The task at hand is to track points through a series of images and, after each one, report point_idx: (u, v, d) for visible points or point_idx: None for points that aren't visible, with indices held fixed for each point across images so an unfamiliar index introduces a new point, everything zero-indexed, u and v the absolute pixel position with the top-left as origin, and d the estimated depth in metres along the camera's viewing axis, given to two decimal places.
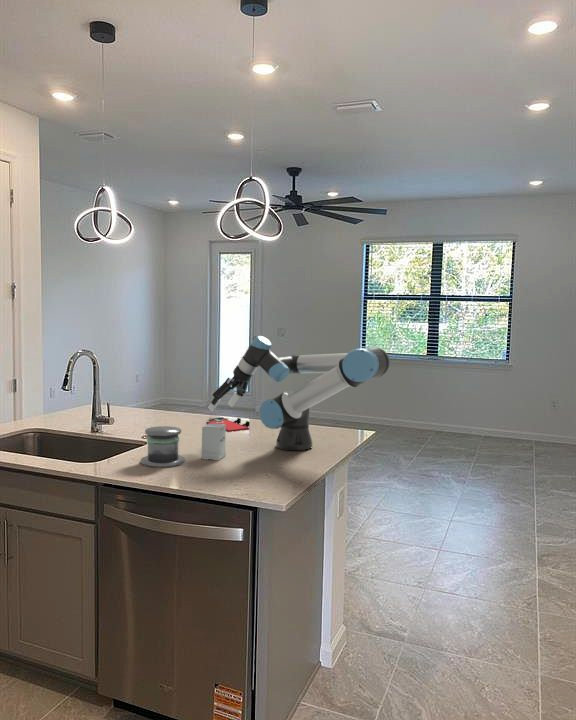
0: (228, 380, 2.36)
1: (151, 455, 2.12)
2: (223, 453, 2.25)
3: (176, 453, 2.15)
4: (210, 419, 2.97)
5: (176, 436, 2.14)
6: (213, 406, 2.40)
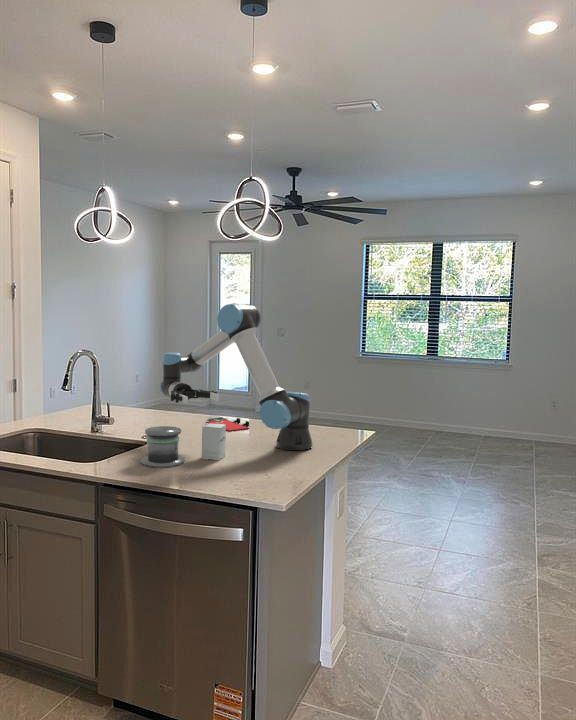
0: None
1: (151, 455, 2.12)
2: (223, 453, 2.25)
3: (176, 453, 2.15)
4: (209, 419, 2.97)
5: (176, 436, 2.14)
6: (183, 397, 2.29)
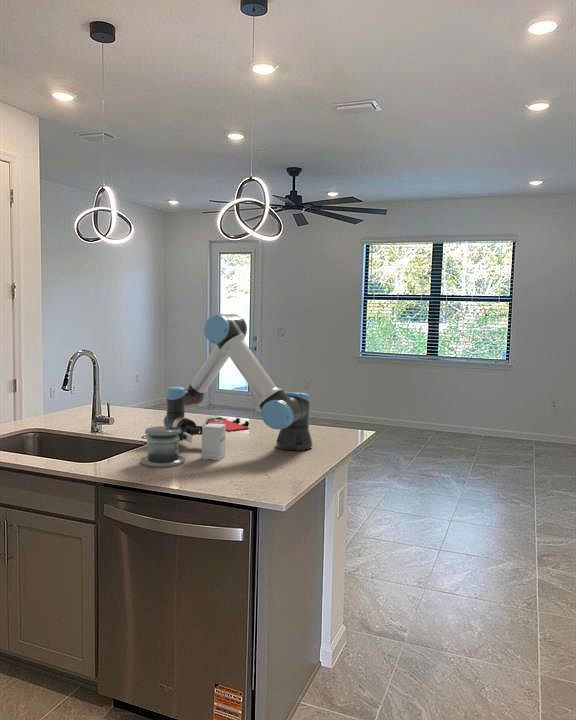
0: None
1: (151, 455, 2.12)
2: (223, 453, 2.25)
3: (176, 453, 2.15)
4: (209, 419, 2.97)
5: (176, 436, 2.14)
6: (187, 436, 2.25)
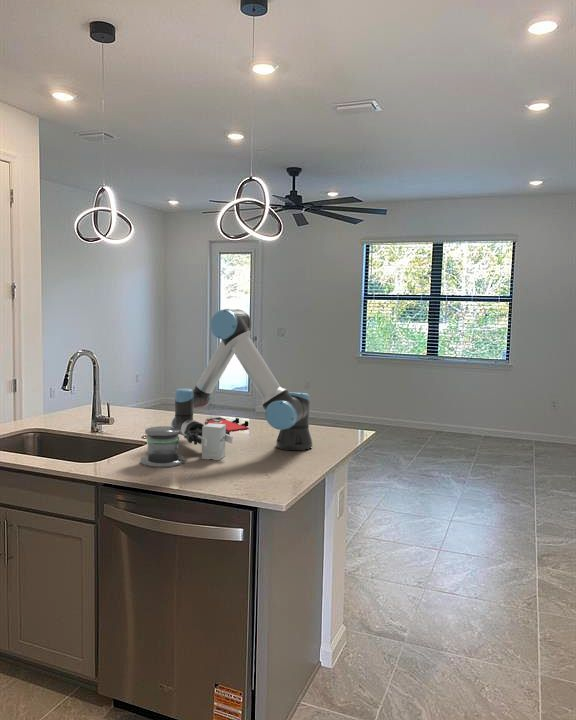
0: (184, 435, 2.30)
1: (151, 455, 2.12)
2: (223, 453, 2.25)
3: (176, 453, 2.15)
4: (208, 419, 2.97)
5: (176, 436, 2.14)
6: (202, 439, 2.19)
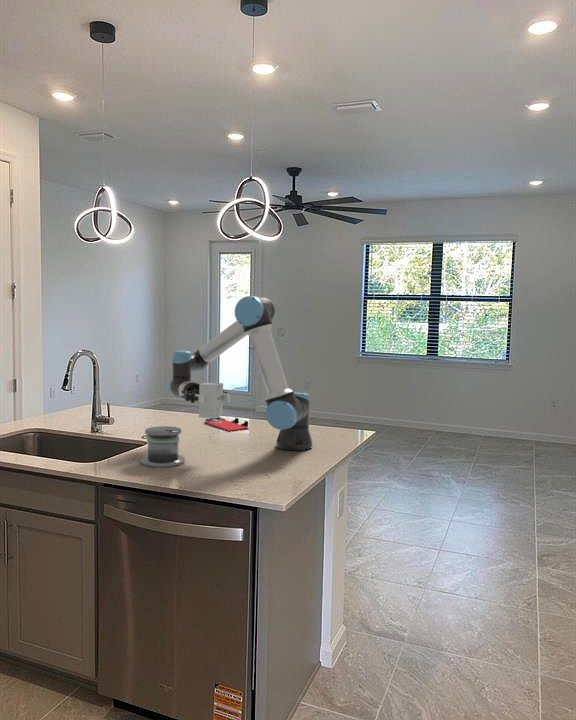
0: (181, 395, 2.28)
1: (151, 455, 2.12)
2: (221, 412, 2.24)
3: (176, 453, 2.15)
4: (207, 419, 2.97)
5: (176, 436, 2.14)
6: (199, 397, 2.17)
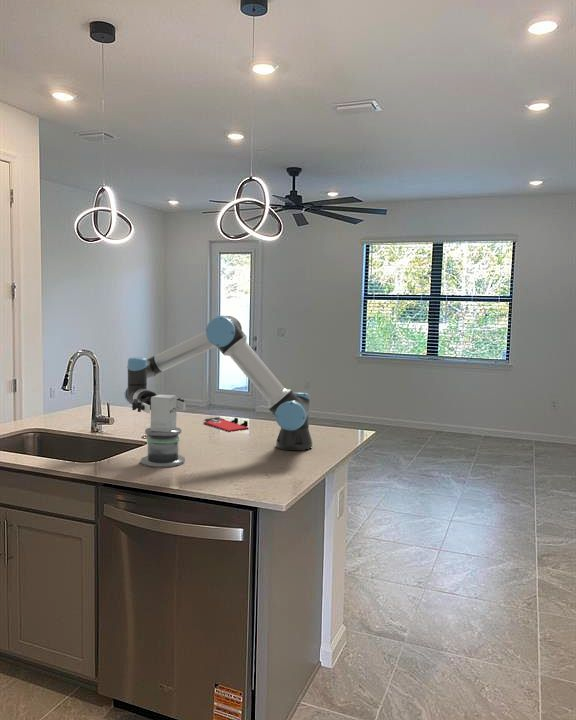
0: None
1: (151, 455, 2.12)
2: (174, 425, 2.16)
3: (176, 453, 2.15)
4: (206, 419, 2.96)
5: (176, 436, 2.14)
6: (145, 406, 2.10)
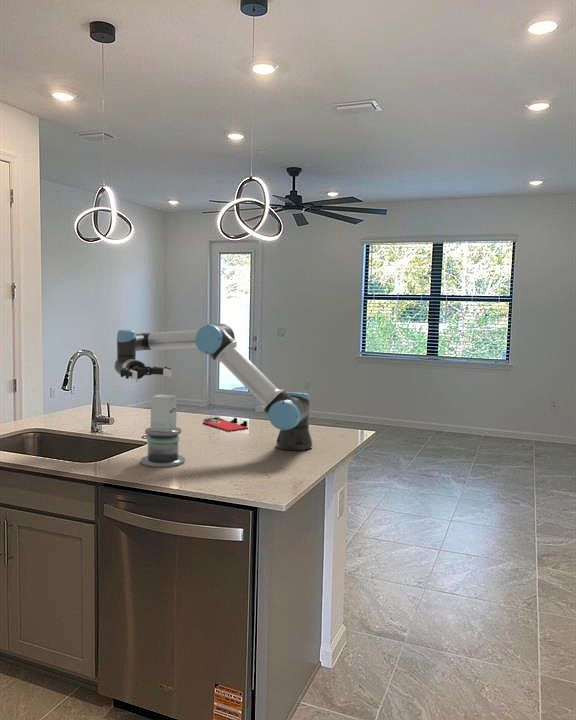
0: None
1: (151, 455, 2.12)
2: (174, 425, 2.16)
3: (176, 453, 2.15)
4: (206, 419, 2.96)
5: (176, 436, 2.14)
6: (133, 372, 2.20)
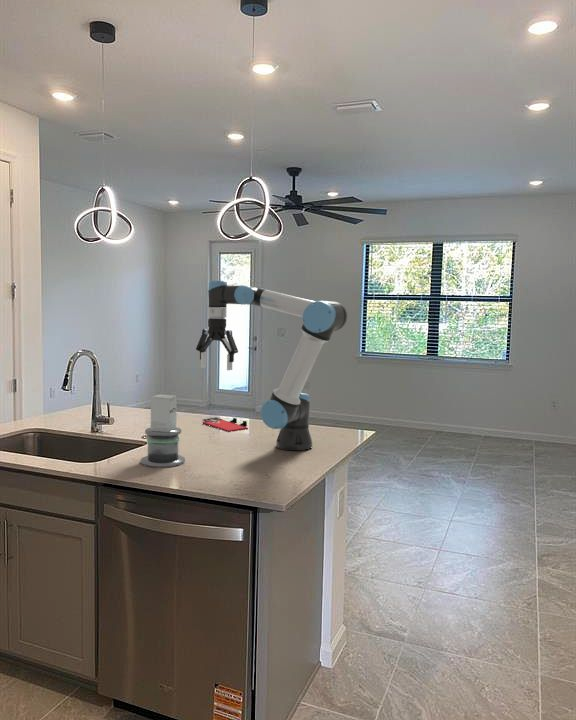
0: (229, 332, 2.40)
1: (151, 455, 2.12)
2: (174, 425, 2.16)
3: (176, 453, 2.15)
4: (205, 419, 2.96)
5: (176, 436, 2.14)
6: (231, 364, 2.42)
